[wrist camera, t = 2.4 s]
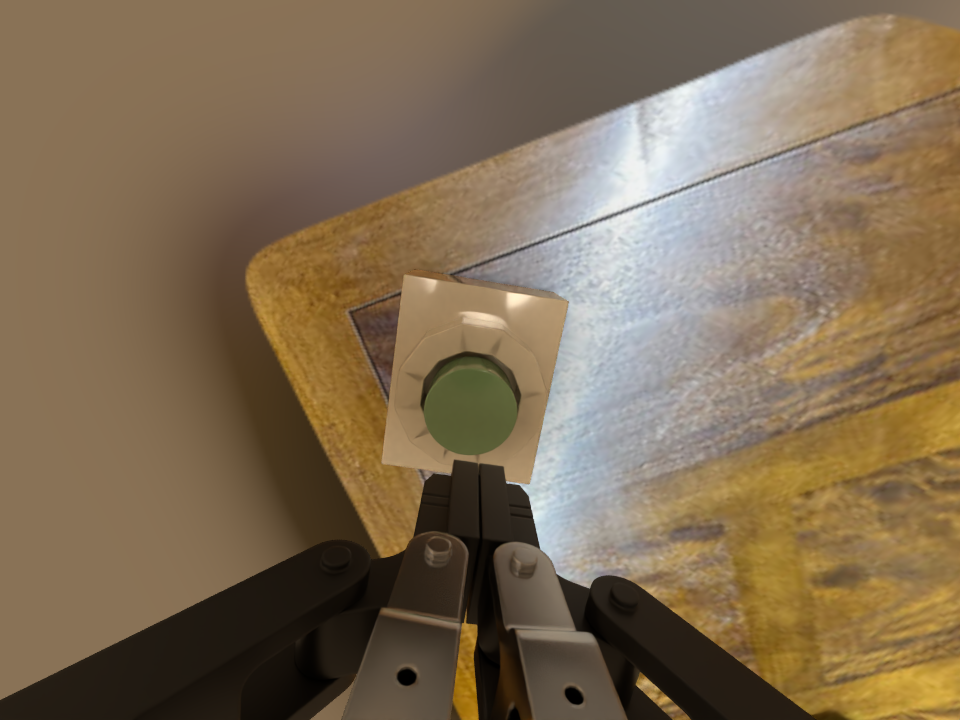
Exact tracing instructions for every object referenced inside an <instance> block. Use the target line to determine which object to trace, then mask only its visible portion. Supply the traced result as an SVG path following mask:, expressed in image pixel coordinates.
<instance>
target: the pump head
mask: <svg viewBox="0 0 960 720" xmlns="http://www.w3.org/2000/svg"><path fill="white" fill-rule="evenodd" d="M424 419H425V423H426V426H427V429H428V431H429V432H430V434H431V435H432V437H433V438H434V439H435V440H436V441H437V442H438V443H439V444H440V445H441V446H442V447H444V448H446V449H447V450H449V451H452V452H454V453H457V454H462V455H479V454H483V453H487V452H489V451H492V450H494V449H495V448H497V447H498V446H500V445H501V444H502V443H503V442H504V441H505V440H506V439H507V438H508V437H509V436H510V434H511V432H512V431H513V429H514V426H515V423H516V420H517V403H516V399H515V395H514V392H513V388H512V385H511V382H510V380H509V378H508V376H507V375H506V373H505V372H504V371H503V370H502V369H501V368H500V367H499V366H498V365H497V364H495V363H494V362H492V361H490V360H487V359H485V358H481V357H475V356H466V357H460V358H457V359H454V360H452V361H450V362H448V363H446V364H445V365H444V366H442V367H441V368H440V369H439V370H438V371H437V372H436V374H435V375H434V377H433V379H432V381H431V383H430V386H429V389H428V393H427V396H426V399H425V404H424Z"/></svg>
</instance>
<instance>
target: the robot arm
mask: <svg viewBox="0 0 960 720" xmlns="http://www.w3.org/2000/svg"><path fill="white" fill-rule="evenodd" d="M466 608H467V620H466V623H468V624H477V626H478V636H477V641H476V646H475V651H474V666H475V678H476V690H477V702H478V714H479V720H672V719H671V718H670V717H669V716H668V715H667V714H666V713H665V712H664V711H663V710H662V709H661V708H659V707H658V706H657V705H656V704H655V703H654V702H653V701H652V700H651V699H650V698H649V697H648V696H647V695H646V694H645V693H644V692H643V691H641V690H640V689H639V688H638V687H637V686H636V682H637V679H638V676H639V673H640V672H641V673H642V674H644V675H645V676H646V677H647V678H648V679H649V680H650V681H651V682H652V683H653V684H655V685H656V686H657V687H658V688H659V689H660V690H661V691H662V692H663V693H664V694H665V695H667V696H668V697H669V698H670V699H671V700H672V701H673V702H674V703H675V704H676V705H678V706H679V707H680V708H681V709H682V710H683V711H684V712H685V713H686V714H687V715H688V716H689V717H690V719H691V720H816V719H815V718H814V717H812V716H811V715H810V714H808V713H807V712H806V711H804V710H803V709H802V708H800V707H799V706H798V705H796V704H795V703H794V702H792V701H791V700H790V699H788V698H787V697H786V696H784V695H783V694H782V693H780V692H779V691H778V690H776V689H775V688H774V687H772V686H771V685H770V684H768V683H767V682H766V681H765V680H763V679H762V678H761V677H759V676H758V675H757V674H755V673H754V672H753V671H751V670H750V669H749V668H747V667H746V666H745V665H743V664H742V663H741V662H739V661H738V660H737V659H735V658H734V657H733V656H731V655H730V654H729V653H727V652H726V651H725V650H723V649H722V648H721V647H719V646H718V645H717V644H715V643H714V642H713V641H711V640H710V639H709V638H707V637H706V636H705V635H703V634H702V633H701V632H699V631H698V630H697V629H695V628H694V627H693V626H691V625H690V624H689V623H688V622H686V621H685V620H684V619H682V618H681V617H680V616H678V615H677V614H676V613H674V612H673V611H672V610H670V609H669V608H668V607H666V606H665V605H664V604H662V603H661V602H660V601H658V600H657V599H656V598H654V597H653V596H652V595H650V594H649V593H648V592H646V591H645V590H644V589H642V588H641V587H640V586H638V585H637V584H635V583H633V582H631V581H629V580H627V579H624V578H621V577H617V576H610V575H608V576H601V577H598V578H596V579H595V580H594V581H593V582H592V585H591V588H590V589H589V588H586V587H583V586H581V585H578V584H575V583H573V582H570V581H568V580H566V579H564V578H562V577H560V576H559V575H557V574H556V571H555V568H554V566H553V563H552V561H551V560H550V558H549V557H548V556H547V555H546V554H545V553H544V552H543V551H541V550H540V546H539V542H538V537H537V533H536V528H535V523H534V519H533V514H532V510H531V505H530V501H529V496H528V495H527V494H526V493H525V491H524V490H523V489H522V488H521V487H520V485H514V484H506V479H505V471H504V466H498V465H491V464H484V463H479V466H478V463H476V462H469V461H462V460H455V459H454V461H453V466H452V472H451V476H448V475H441V474H433V475H432V476H431V477H429V478H428V479H427V480H426V481H425V483H424V488H423V493H422V498H421V503H420V508H419V513H418V517H417V522H416V527H415V532H414V537H413V538H412V539H411V540H410V542H409V543H408V545H407V548H406V549H405V550H404V551H402V552H401V553H399V554H396V555H394V556H391V557H386V558H379V559H370V555H369V553H368V552H367V550H366V549H365V548H364V547H362V546H360V545H359V544H357V543H355V542H352V541H347V540H331V541H326V542H322V543H320V544H317V545H315V546H313V547H311V548H309V549H307V550H305V551H303V552H301V553H299V554H297V555H295V556H293V557H291V558H289V559H287V560H285V561H283V562H281V563H279V564H276V565H274V566H272V567H270V568H269V569H267V570H264V571H262V572H260V573H258V574H256V575H254V576H252V577H250V578H248V579H246V580H244V581H242V582H240V583H238V584H236V585H234V586H232V587H230V588H228V589H226V590H224V591H222V592H219V593H217V594H215V595H213V596H211V597H209V598H207V599H205V600H203V601H201V602H199V603H197V604H195V605H193V606H191V607H189V608H187V609H185V610H183V611H181V612H179V613H177V614H175V615H173V616H171V617H169V618H167V619H165V620H163V621H160V622H159V623H156V624H154V625H152V626H150V627H148V628H146V629H144V630H142V631H140V632H138V633H136V634H134V635H132V636H130V637H128V638H126V639H124V640H122V641H120V642H118V643H116V644H114V645H112V646H110V647H107V648H105V649H103V650H101V651H99V652H97V653H95V654H93V655H91V656H89V657H87V658H85V659H83V660H81V661H79V662H77V663H75V664H73V665H71V666H69V667H67V668H65V669H63V670H61V671H59V672H57V673H55V674H53V675H50V676H48V677H47V678H45V679H42V680H40V681H38V682H36V683H34V684H32V685H30V686H28V687H26V688H24V689H22V690H20V691H18V692H16V693H14V694H12V695H10V696H8V697H6V698H4V699H2V700H0V720H310V719H311V718H312V717H314V716H315V715H316V714H317V713H318V712H320V711H321V710H322V709H323V708H324V707H326V706H327V705H328V704H329V703H330V702H332V701H333V700H334V699H335V698H336V697H338V696H339V695H340V694H341V693H342V692H344V691H345V690H346V689H347V688H348V687H349V686H350V685H351V683H352V682H353V681H354V679H355V677H356V679H355V682H354V685H353V688H352V690H351V693H350V696H349V699H348V702H347V705H346V707H345V710H344V713H343V716H342V719H341V720H450V717H451V709H452V701H453V693H454V684H455V676H456V668H457V660H458V651H459V643H460V635H461V626H462V623H464V618H465V613H466ZM356 674H357V676H356Z"/></svg>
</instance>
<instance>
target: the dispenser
mask: <svg viewBox="0 0 960 720" xmlns="http://www.w3.org/2000/svg"><path fill="white" fill-rule="evenodd" d="M568 303H569V301H567V300H566V299H564V298H562V297H561V296H559V295H558V294H556V293H554V292H551V291H544V290H538V289H532V288H526V287H520V286H514V285H508V284H502V283H496V282H490V281H484V280H478V279H472V278H466V277H459V276H453V275H447V274H441V273H435V272H429V271H423V270H417V269H414V270H412V271H410V272H408V273H406V274H404V276H403V284H402V293H401V301H400V310H399V318H398V327H397V335H396V343H395V352H394V360H393V369H392V377H391V386H390V394H389V403H388V411H387V420H386V428H385V437H384V445H383V454H382V462H381V463H382V464H387V465H394V466H401V467H408V468H416V469H423V470H430V471H437V472H445V473H451V472H452V466H453V461H454V459H455V460H462V461H469V462H476V463H478V466H479V463H484V464H491V465H498V466H504V471H505V479H506V481H510V482H517V483H524V484H530V480H531V475H532V471H533V466H534V461H535V457H536V452H537V447H538V443H539V438H540V434H541V429H542V424H543V420H544V415H545V410H546V406H547V401H548V396H549V392H550V387H551V382H552V378H553V373H554V368H555V364H556V359H557V355H558V350H559V345H560V341H561V336H562V331H563V327H564V322H565V317H566V313H567V308H568ZM466 356H475V357H481V358H485V359H487V360H490V361H492V362H494V363H495V364H497V365H498V366H499V367H500V368H501V369H502V370H503V371H504V372H505V373H506V375H507V376H508V378H509V380H510V382H511V385H512V388H513V392H514V395H515V399H516V403H517V420H516V423H515V426H514V429H513V431H512V432H511V434H510V436H509V437H508V438H507V439H506V440H505V441H504V442H503V443H502V444H501V445H500V446H498V447H497V448H495V449H494V450H492V451H489V452H487V453H483V454H479V455H462V454H457V453H454V452H452V451H449V450H447V449H446V448H444V447H442V446H441V445H440V444H439V443H438V442H437V441H436V440H435V439H434V438H433V437H432V435H431V434H430V432H429V431H428V429H427V426H426V423H425V419H424V404H425V399H426V396H427V393H428V389H429V386H430V383H431V381H432V379H433V377H434V375H435V374H436V372H437V371H438V370H439V369H440V368H441V367H442V366H444V365H445V364H446V363H448V362H450V361H452V360H454V359H457V358H460V357H466Z"/></svg>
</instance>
